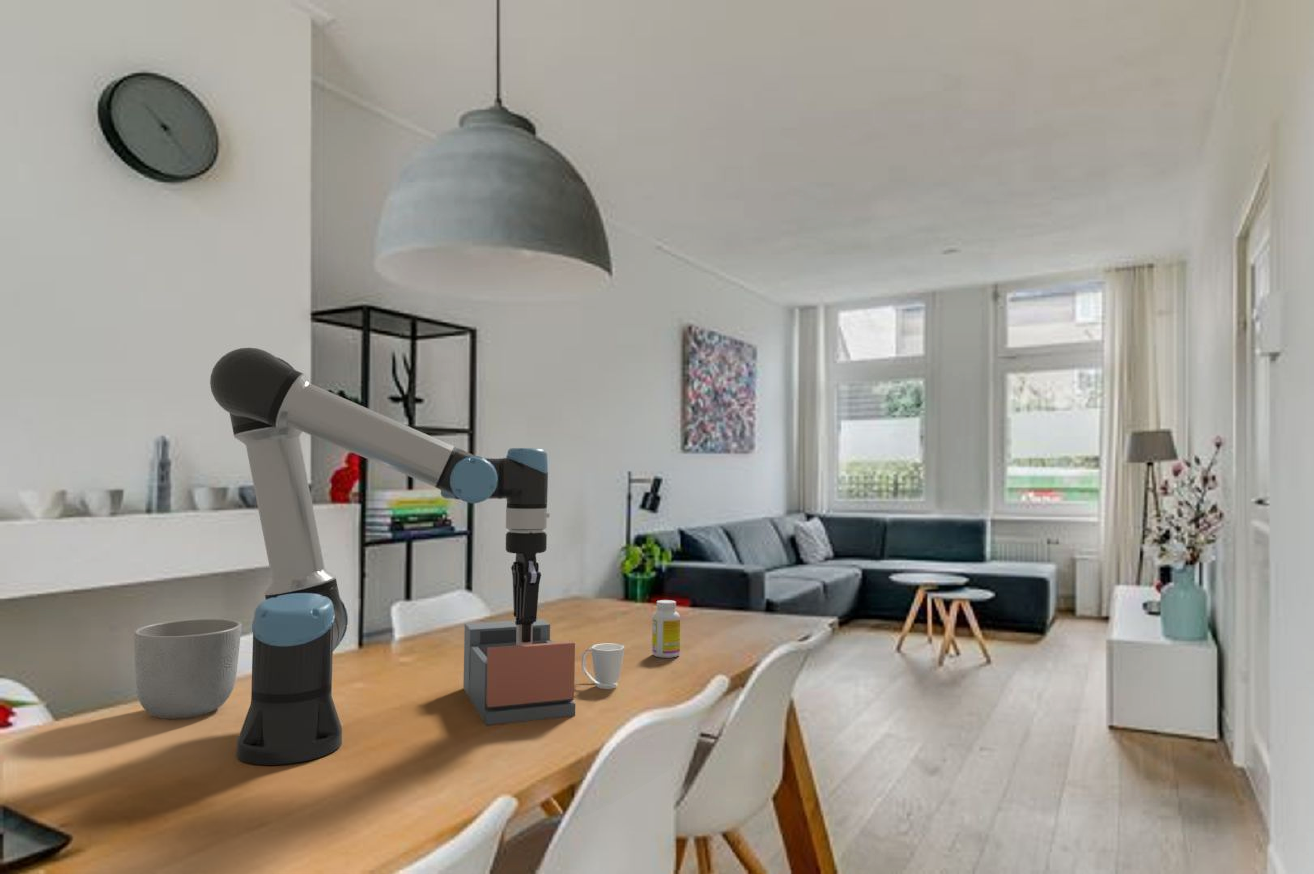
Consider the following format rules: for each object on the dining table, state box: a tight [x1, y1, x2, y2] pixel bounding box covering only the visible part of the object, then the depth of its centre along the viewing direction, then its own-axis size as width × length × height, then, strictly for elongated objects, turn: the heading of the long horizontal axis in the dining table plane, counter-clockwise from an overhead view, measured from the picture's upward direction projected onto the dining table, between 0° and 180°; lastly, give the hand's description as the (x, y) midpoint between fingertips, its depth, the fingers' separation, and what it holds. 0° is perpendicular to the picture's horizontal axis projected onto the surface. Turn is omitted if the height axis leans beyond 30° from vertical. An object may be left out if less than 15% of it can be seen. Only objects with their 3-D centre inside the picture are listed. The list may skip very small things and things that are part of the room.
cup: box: [581, 642, 625, 690], centre depth 168 cm, size 7×10×8 cm
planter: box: [132, 618, 243, 720], centre depth 147 cm, size 17×17×15 cm
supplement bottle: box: [651, 599, 681, 659], centre depth 195 cm, size 7×7×13 cm
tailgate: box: [486, 640, 576, 709], centre depth 145 cm, size 16×2×10 cm, turn 112°
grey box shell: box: [462, 618, 551, 698], centre depth 164 cm, size 16×7×13 cm, turn 112°
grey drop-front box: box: [468, 639, 576, 726], centre depth 153 cm, size 16×18×10 cm
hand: (524, 658), depth 151 cm, fingers closed
